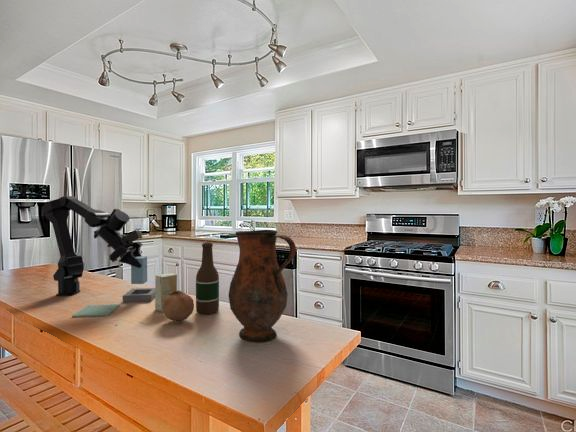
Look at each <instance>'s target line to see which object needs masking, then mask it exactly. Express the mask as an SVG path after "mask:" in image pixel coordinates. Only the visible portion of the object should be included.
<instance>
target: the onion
mask: <svg viewBox="0 0 576 432" xmlns="http://www.w3.org/2000/svg"><path fill="white" fill-rule="evenodd" d="M194 309H195V303H194V299H193V298H192V296H191V295H190V294H189V295H188V294H187V293H185V292H183V291H182V290H177V291H174V292H173V293H170V294H169V296H168V297H167V298H166V299H165V300H164V302H163V305H162V310H163V311H162V313H163V315H164V317H165V318H166V319H168V320H170V321H174V322H177V323H181V322H184V321H185V320H187V319H188V317H190V316H191V315H193V311H194Z"/></svg>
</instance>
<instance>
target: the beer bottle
mask: <svg viewBox="0 0 576 432" xmlns="http://www.w3.org/2000/svg"><path fill="white" fill-rule="evenodd" d="M213 246H214V245H213V242H203V243H202V244H201V247H202V250H201V251H202V255H201V265H200V267H199V269H198V271H197V273H196V275H195V311H196V313H197V314H199V315H204V316H208V315H214V314H216V313H217V312H218V311H219V310H220V308H219V307H220V277H219V272H218V269H217V267H216V266H215V265H214V258H213V257H214V256H213Z"/></svg>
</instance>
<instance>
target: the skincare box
mask: <svg viewBox="0 0 576 432" xmlns="http://www.w3.org/2000/svg"><path fill="white" fill-rule="evenodd" d="M154 280H155V281H154V282H155V287H154V288H155V298H154V300H155V301H154V303H155V304H154V309H155V310H156V311H159V312H163V310H162V305H163V302H164V300H165V299H166V298H167V297H168V296H169V294H170V293H173V292H174V291H178V285H177V284H178V274H176V273H172V272H169V273H162V274H157V275H155V279H154Z"/></svg>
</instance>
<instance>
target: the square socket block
mask: <svg viewBox="0 0 576 432" xmlns="http://www.w3.org/2000/svg"><path fill="white" fill-rule="evenodd" d="M153 300H155V287H150V288H149V287H143V288H142V287H141V288H140V287H139V288H131V289H129V290H128V291H126V293H124V294H123V295H122V303H138V302H139V303H140V302H142V303H144V302H153Z"/></svg>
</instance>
